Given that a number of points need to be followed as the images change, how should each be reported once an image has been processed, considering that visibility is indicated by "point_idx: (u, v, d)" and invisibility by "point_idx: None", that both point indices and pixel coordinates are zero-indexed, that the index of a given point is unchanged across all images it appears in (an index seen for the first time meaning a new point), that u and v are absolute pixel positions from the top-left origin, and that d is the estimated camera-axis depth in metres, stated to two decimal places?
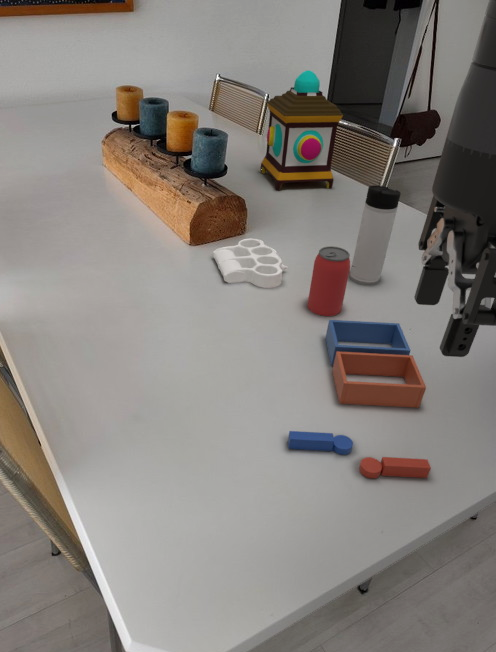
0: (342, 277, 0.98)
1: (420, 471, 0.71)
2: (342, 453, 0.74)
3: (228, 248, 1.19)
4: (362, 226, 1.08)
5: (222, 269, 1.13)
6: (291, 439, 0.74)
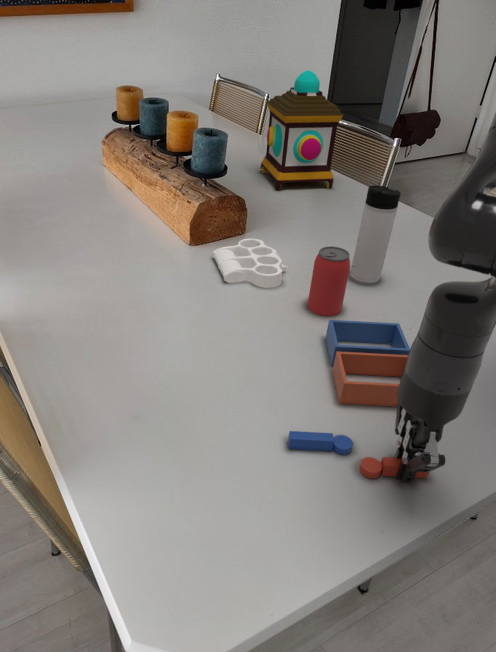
0: (342, 277, 0.98)
1: (420, 472, 0.71)
2: (342, 453, 0.74)
3: (228, 248, 1.19)
4: (362, 226, 1.08)
5: (222, 269, 1.13)
6: (291, 439, 0.74)
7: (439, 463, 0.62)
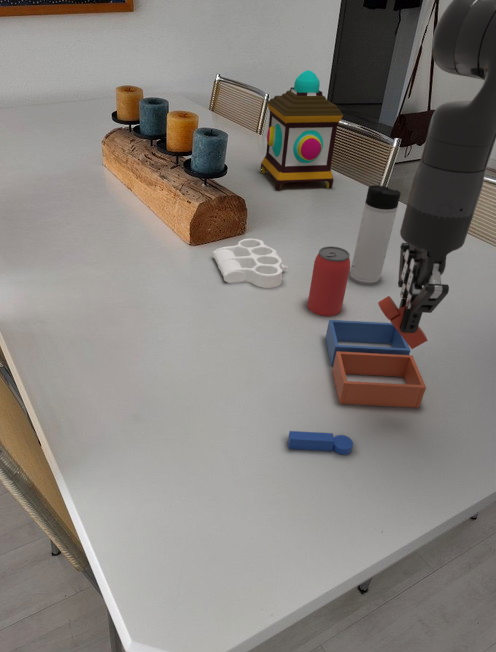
0: (342, 277, 0.98)
1: (418, 338, 0.74)
2: (342, 453, 0.74)
3: (228, 248, 1.19)
4: (362, 226, 1.08)
5: (222, 269, 1.13)
6: (291, 439, 0.74)
7: (443, 291, 0.64)
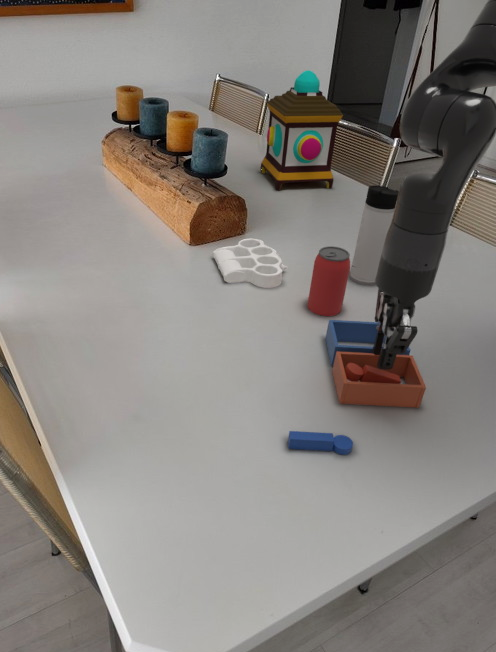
0: (342, 277, 0.98)
1: (392, 383, 0.84)
2: (342, 453, 0.74)
3: (228, 248, 1.19)
4: (362, 226, 1.08)
5: (222, 269, 1.13)
6: (291, 439, 0.74)
7: (412, 332, 0.72)
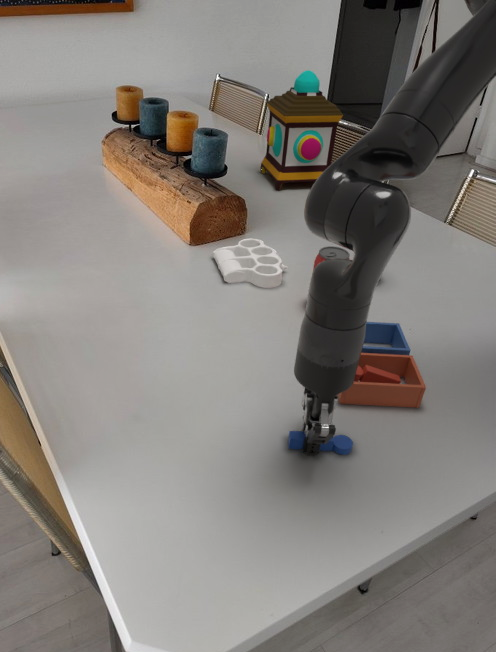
0: None
1: (392, 383, 0.84)
2: (342, 453, 0.74)
3: (228, 248, 1.19)
4: None
5: (222, 269, 1.13)
6: (291, 439, 0.74)
7: (329, 433, 0.65)
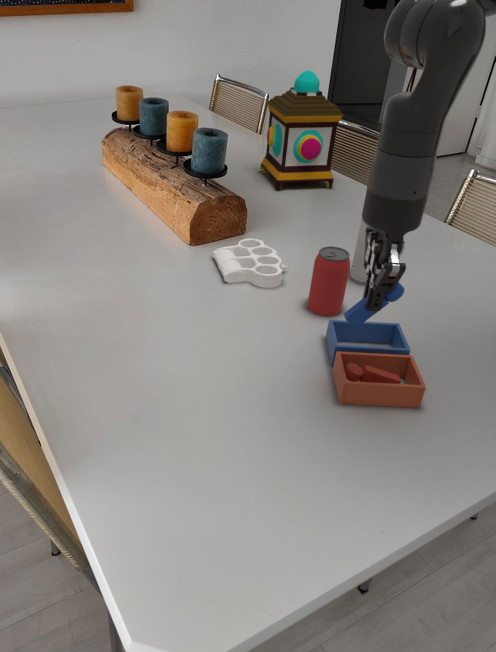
0: (342, 277, 0.98)
1: (392, 383, 0.84)
2: (394, 296, 0.76)
3: (228, 248, 1.19)
4: (362, 226, 1.08)
5: (222, 269, 1.13)
6: (346, 318, 0.79)
7: (400, 269, 0.68)
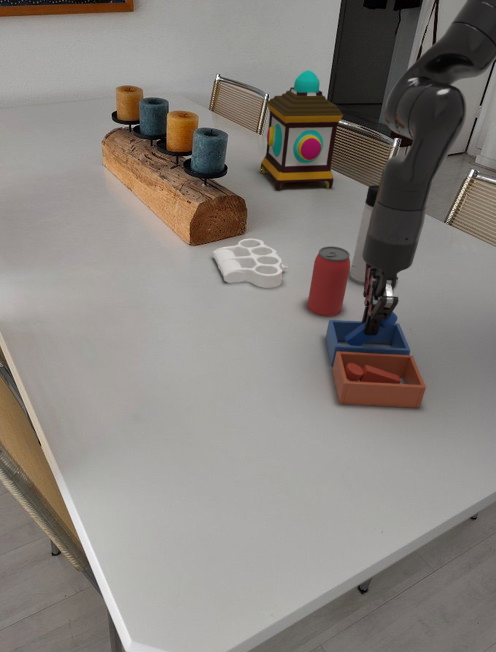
0: (342, 277, 0.98)
1: (392, 383, 0.84)
2: (388, 323, 0.88)
3: (228, 248, 1.19)
4: (362, 226, 1.08)
5: (222, 269, 1.13)
6: (347, 341, 0.91)
7: (393, 302, 0.80)
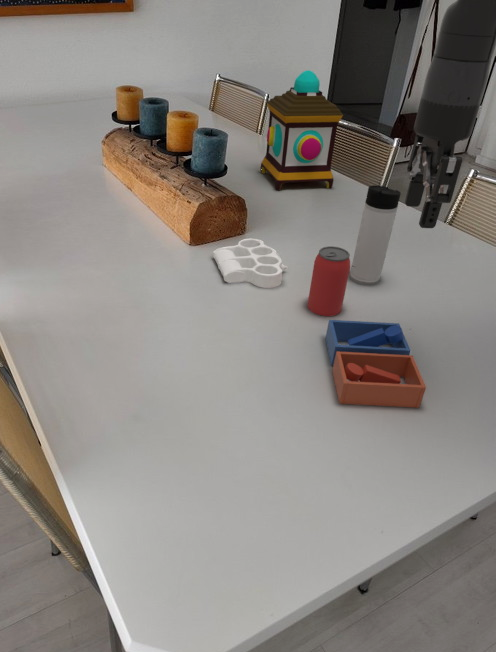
0: (342, 277, 0.98)
1: (392, 383, 0.84)
2: (395, 339, 0.90)
3: (228, 248, 1.19)
4: (362, 226, 1.08)
5: (222, 269, 1.13)
6: None
7: (457, 159, 0.70)
